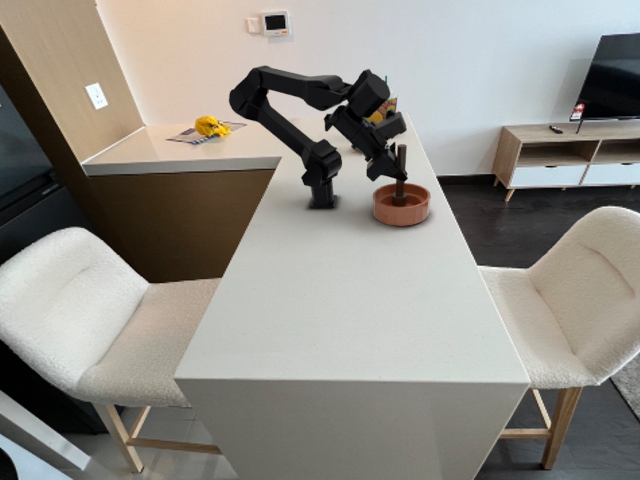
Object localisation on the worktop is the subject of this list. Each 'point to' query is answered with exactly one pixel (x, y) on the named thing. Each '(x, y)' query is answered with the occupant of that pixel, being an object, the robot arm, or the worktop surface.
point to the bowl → (407, 214)
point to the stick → (400, 196)
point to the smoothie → (389, 101)
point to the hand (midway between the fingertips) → (406, 177)
